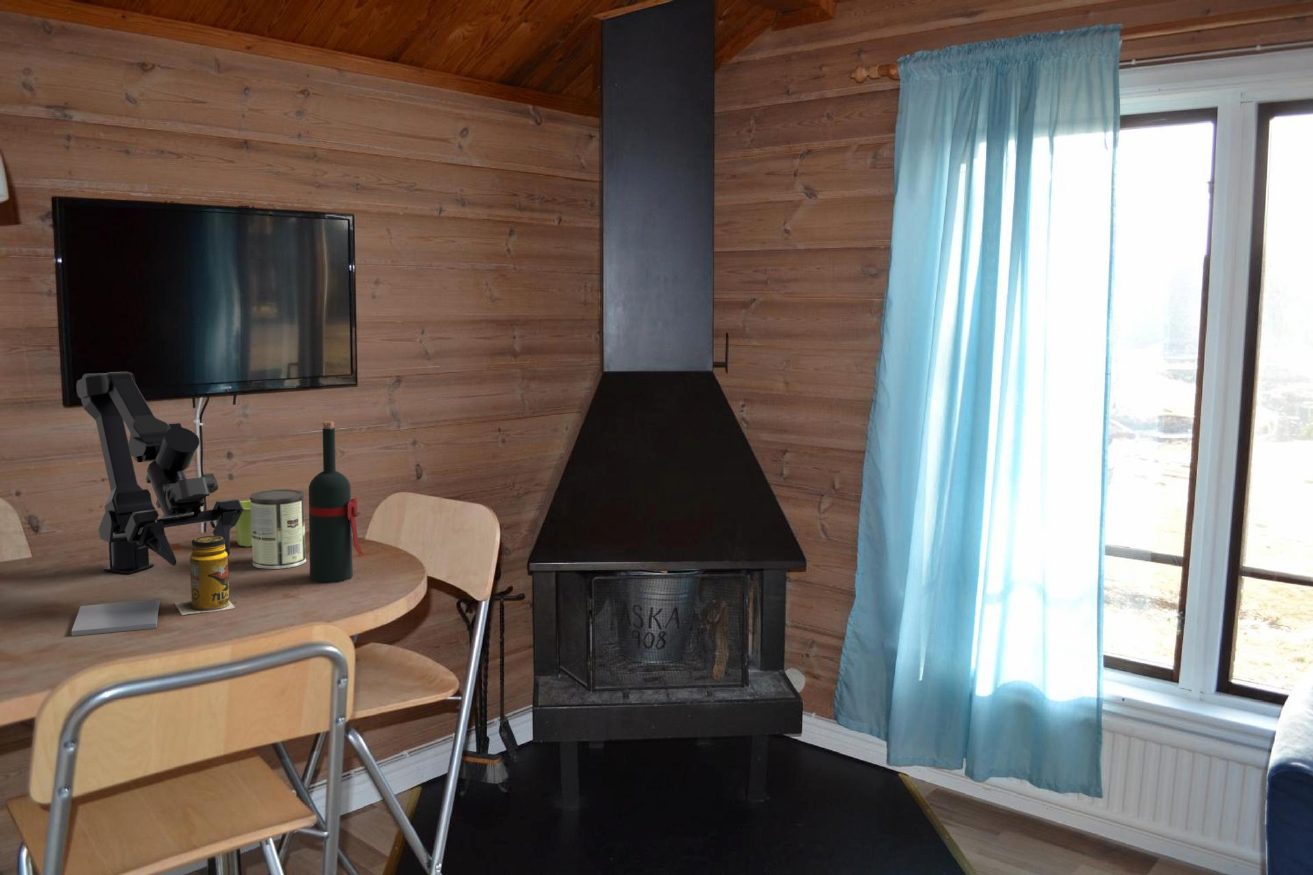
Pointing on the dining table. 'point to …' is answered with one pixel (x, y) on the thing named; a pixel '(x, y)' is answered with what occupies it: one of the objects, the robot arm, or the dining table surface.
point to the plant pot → (244, 525)
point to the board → (116, 617)
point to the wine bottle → (331, 518)
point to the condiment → (208, 577)
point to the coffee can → (278, 528)
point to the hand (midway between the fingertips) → (202, 559)
